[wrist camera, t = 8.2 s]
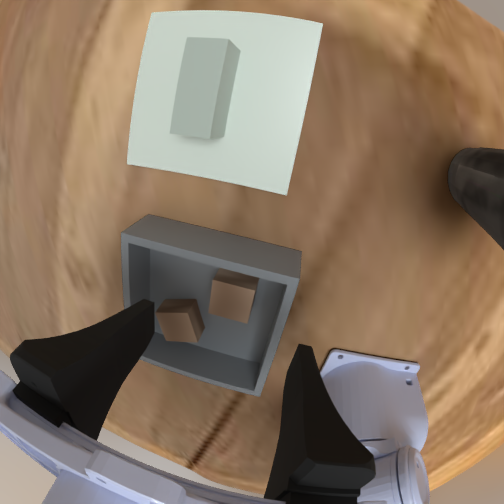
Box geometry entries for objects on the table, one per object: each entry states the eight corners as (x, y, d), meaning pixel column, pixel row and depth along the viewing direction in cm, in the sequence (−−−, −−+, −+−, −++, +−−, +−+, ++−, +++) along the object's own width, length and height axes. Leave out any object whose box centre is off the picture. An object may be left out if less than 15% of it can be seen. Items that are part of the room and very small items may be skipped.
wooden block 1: (196, 298, 24) (187, 312, 22) (204, 327, 25) (197, 342, 23) (164, 299, 25) (154, 312, 23) (174, 326, 26) (166, 340, 24)
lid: (322, 28, 15) (325, 7, 11) (287, 192, 20) (282, 207, 16) (157, 16, 16) (130, 1, 12) (133, 161, 21) (103, 171, 17)
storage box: (301, 251, 21) (299, 279, 18) (266, 364, 26) (259, 396, 23) (148, 214, 22) (121, 232, 19) (147, 329, 27) (129, 355, 24)
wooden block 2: (259, 276, 22) (255, 290, 20) (252, 308, 23) (247, 323, 21) (220, 266, 22) (212, 279, 20) (215, 298, 23) (208, 313, 22)
